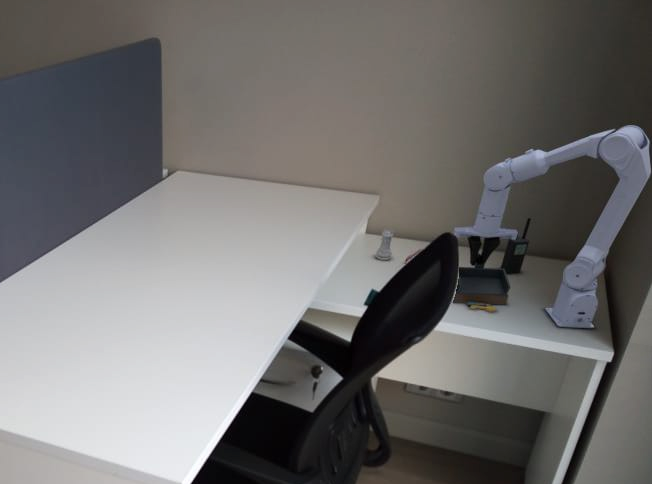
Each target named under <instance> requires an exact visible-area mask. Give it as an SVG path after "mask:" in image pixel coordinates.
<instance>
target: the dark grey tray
mask: <svg viewBox="0 0 652 484" xmlns="http://www.w3.org/2000/svg"><path fill="white" fill-rule="evenodd" d="M458 267H459V279H458V285H457V289H456V293H459V294H482V295H504V296H507V295H508V294H509V292H510V289H511V284H510V281H509V277H508V275H507V273H506V272H505V269H500V268H497V267H485V265H484V263H483V261H482V258H481V253H479V252H478V256H477V260H476V264H475V266H472V267H471V266H469V267H468V266H458Z"/></svg>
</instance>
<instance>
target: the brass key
mask: <svg viewBox="0 0 652 484" xmlns="http://www.w3.org/2000/svg"><path fill="white" fill-rule="evenodd" d="M469 306H470V307H469V309H470V310H474V311H475V310H476V309H479V310H485V311H486V312H489V313H493V312H495V311H496V307H495V306H493V305H491V306H482V305H469Z"/></svg>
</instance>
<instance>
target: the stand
mask: <svg viewBox="0 0 652 484" xmlns="http://www.w3.org/2000/svg"><path fill="white" fill-rule="evenodd" d="M508 298H509V295H508V294H507V296H504V295H482V294H459V293H456V294H455V297H454V300H453V302H452V303H461V304H462V303H463V304H467V302H476V303H485V304H491V305H507V302H508Z"/></svg>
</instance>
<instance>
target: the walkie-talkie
mask: <svg viewBox="0 0 652 484" xmlns="http://www.w3.org/2000/svg"><path fill="white" fill-rule="evenodd" d="M531 220H532V218H531V217H527V220H526V222H525V226H524V229H523V233H522V236H519V235H518V234H517V237H516V240H512V239H509V238H508V241H507V244H506V248H505V251H504V254H503V258H502V261H501V265H500V268H499V269H505V272H506V275H507V274H518V273H520V272H521V270H522V267H523V263H524V260H525V258H526V257H525V256H526V253H527V250H528V248H529V244H530V240H529V239H528V238H526V237H527V234H528V230H529V227H530V224H531Z"/></svg>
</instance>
